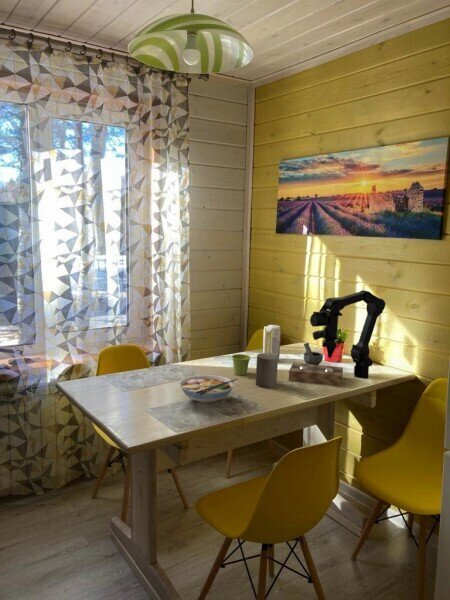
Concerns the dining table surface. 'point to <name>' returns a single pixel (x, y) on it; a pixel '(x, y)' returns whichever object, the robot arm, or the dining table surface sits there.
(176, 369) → the dining table surface
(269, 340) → the juice carton
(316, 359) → the mortar and pestle
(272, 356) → the pillar candle
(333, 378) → the walnut block
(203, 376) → the ramen bowl
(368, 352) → the robot arm
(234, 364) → the plant pot
